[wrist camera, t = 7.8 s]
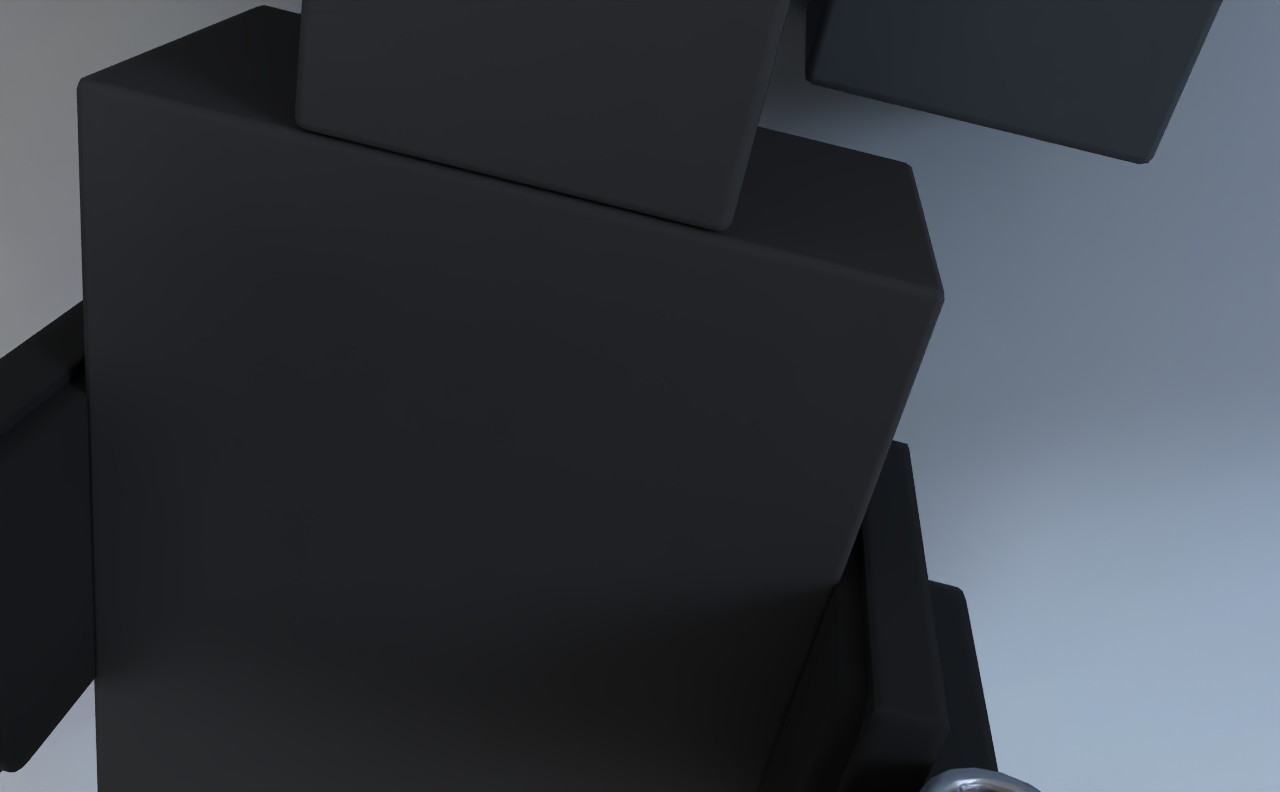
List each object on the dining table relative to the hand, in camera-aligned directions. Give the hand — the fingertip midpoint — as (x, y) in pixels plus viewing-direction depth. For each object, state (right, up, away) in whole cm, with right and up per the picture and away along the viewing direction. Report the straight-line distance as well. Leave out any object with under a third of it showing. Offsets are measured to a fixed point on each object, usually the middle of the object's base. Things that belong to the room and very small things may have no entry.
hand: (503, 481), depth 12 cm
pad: (0, +2, 0) cm, 2 cm away
